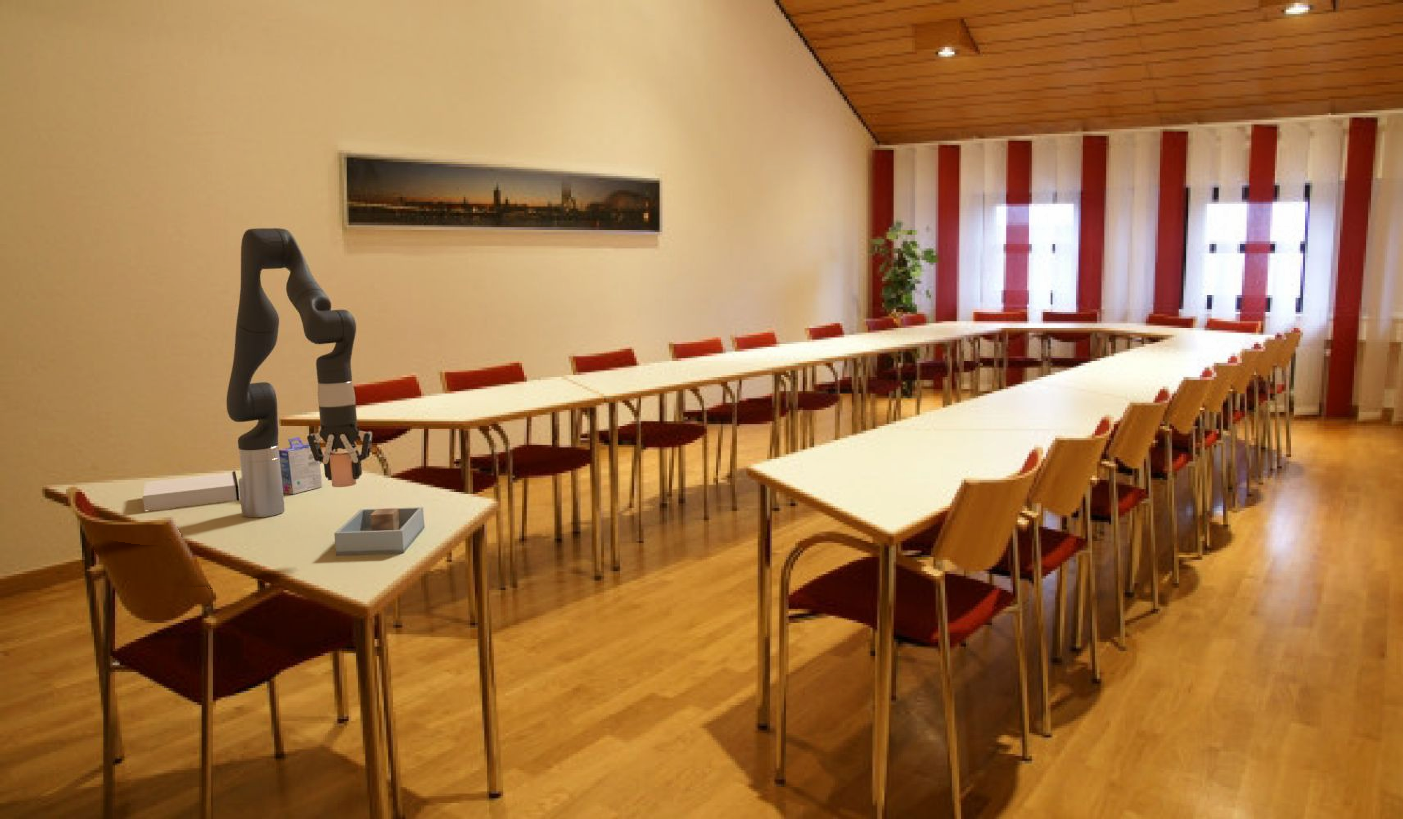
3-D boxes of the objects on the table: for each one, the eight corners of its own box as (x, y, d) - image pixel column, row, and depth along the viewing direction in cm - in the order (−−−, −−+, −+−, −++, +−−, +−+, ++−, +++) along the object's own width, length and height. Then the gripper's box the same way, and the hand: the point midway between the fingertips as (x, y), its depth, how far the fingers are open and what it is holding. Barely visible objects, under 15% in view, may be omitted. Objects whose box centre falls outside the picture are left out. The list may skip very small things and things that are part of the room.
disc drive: (240, 501, 269) (238, 483, 268) (144, 513, 259) (142, 495, 258) (237, 488, 285) (235, 471, 284) (147, 498, 275) (145, 481, 274)
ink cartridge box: (311, 485, 284) (306, 434, 282) (323, 487, 282) (319, 436, 279) (280, 492, 276) (275, 441, 274) (293, 495, 273) (288, 442, 271)
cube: (372, 536, 230) (370, 514, 229) (378, 529, 235) (376, 509, 234) (394, 535, 230) (392, 514, 230) (399, 529, 235) (398, 508, 235)
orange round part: (328, 487, 218) (325, 456, 217) (336, 482, 223) (333, 451, 222) (351, 486, 218) (348, 455, 217) (359, 481, 223) (356, 450, 222)
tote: (336, 555, 219) (334, 533, 218) (362, 529, 238) (360, 509, 238) (403, 553, 220) (402, 530, 219) (424, 527, 239) (423, 507, 238)
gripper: (297, 406, 214) (304, 484, 217) (364, 404, 214) (371, 481, 217) (310, 401, 221) (317, 476, 224) (375, 398, 222) (381, 474, 224)
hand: (344, 478), depth 220 cm, fingers closed on orange round part, 5 cm apart
